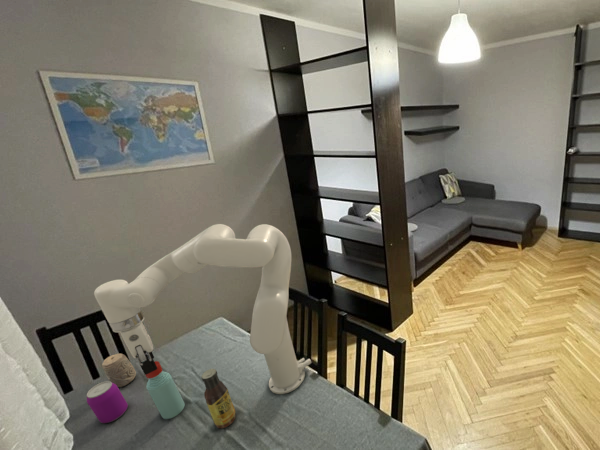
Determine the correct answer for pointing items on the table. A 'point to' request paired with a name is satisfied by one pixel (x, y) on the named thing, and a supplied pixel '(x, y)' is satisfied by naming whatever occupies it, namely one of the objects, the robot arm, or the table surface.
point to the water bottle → (165, 395)
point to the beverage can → (106, 401)
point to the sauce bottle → (218, 399)
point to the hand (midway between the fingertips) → (149, 365)
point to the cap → (156, 372)
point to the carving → (119, 370)
